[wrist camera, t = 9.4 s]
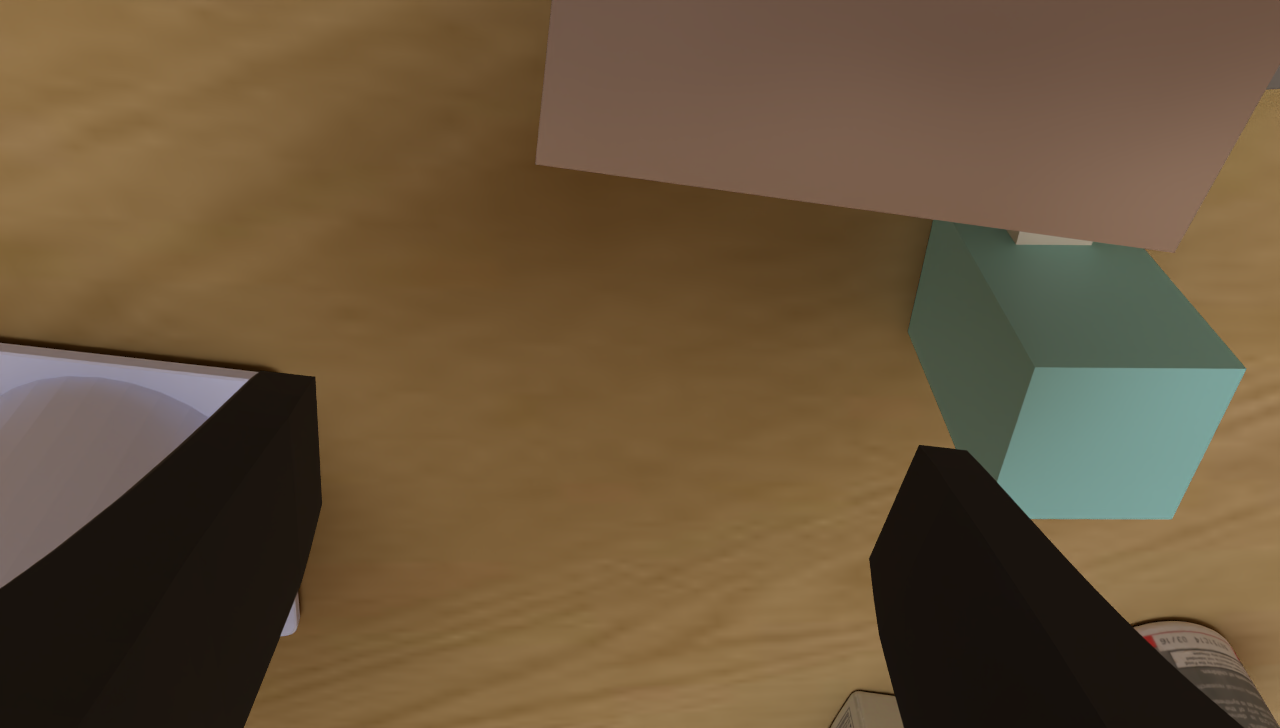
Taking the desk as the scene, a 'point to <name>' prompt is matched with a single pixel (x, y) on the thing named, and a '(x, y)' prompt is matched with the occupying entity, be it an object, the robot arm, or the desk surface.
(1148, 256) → the teal toy mallet
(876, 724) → the box
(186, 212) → the desk surface
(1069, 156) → the cabinet
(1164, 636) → the pill bottle
